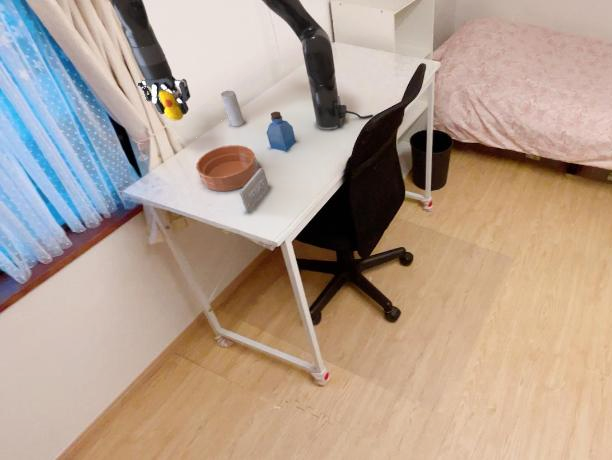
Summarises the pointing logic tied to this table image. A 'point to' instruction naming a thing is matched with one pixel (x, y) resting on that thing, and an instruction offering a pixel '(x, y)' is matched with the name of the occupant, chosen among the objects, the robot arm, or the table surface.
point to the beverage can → (232, 108)
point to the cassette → (254, 190)
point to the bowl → (227, 167)
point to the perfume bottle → (280, 133)
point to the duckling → (170, 105)
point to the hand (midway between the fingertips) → (174, 112)
